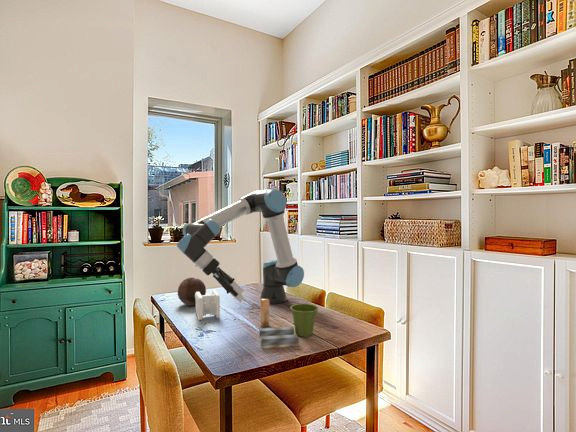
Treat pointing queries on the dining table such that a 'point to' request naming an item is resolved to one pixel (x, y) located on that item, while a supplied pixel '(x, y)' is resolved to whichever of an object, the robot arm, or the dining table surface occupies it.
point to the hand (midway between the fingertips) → (242, 296)
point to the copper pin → (264, 312)
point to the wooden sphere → (190, 290)
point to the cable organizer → (207, 304)
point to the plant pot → (304, 318)
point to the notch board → (277, 337)
